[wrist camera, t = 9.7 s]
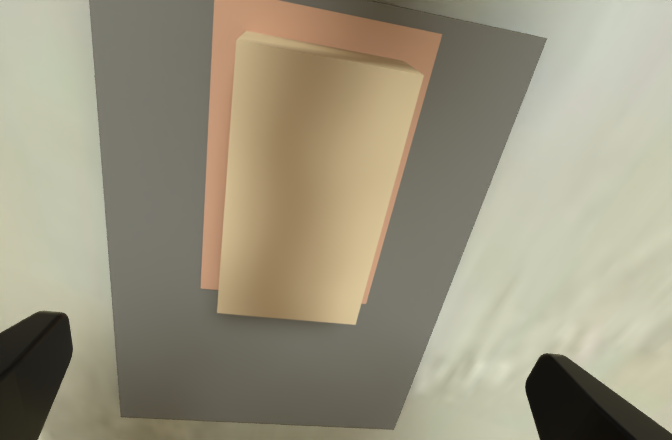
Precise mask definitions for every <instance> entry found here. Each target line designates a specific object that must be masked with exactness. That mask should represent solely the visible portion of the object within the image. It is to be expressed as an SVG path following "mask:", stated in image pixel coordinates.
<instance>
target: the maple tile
mask: <svg viewBox="0 0 672 440" xmlns="http://www.w3.org/2000/svg"><path fill="white" fill-rule="evenodd" d="M423 77H424V75H423V74H421V73H420V72H419V71H417V70H416V69H414V68H413V67H412V66H410V65H409V64H407V63H406V62H405V61H402V60H397V59H392V58H386V57H381V56H376V55H371V54H366V53H360V52H355V51H350V50H345V49H340V48H334V47H329V46H324V45H319V44H314V43H308V42H303V41H298V40H293V39H287V38H282V37H277V36H272V35H267V34H261V33H256V32H251V31H246V32H244V33H243V34H242V35H241V36H240V37H239V38H238V39H237V40H236V52H235V66H234V80H233V94H232V108H231V122H230V136H229V150H228V164H227V178H226V193H225V207H224V221H223V235H222V249H221V263H220V277H219V291H218V305H217V313H223V314H235V315H246V316H258V317H270V318H281V319H293V320H305V321H317V322H328V323H340V324H352V325H356V321H357V318H358V314H359V310H360V307H361V303H362V299H363V296H364V292H365V289H366V285H367V281H368V278H369V274H370V270H371V267H372V263H373V259H374V256H375V252H376V248H377V245H378V241H379V237H380V234H381V230H382V227H383V223H384V219H385V216H386V212H387V208H388V205H389V201H390V197H391V194H392V190H393V186H394V183H395V179H396V176H397V172H398V168H399V165H400V161H401V157H402V154H403V150H404V146H405V143H406V139H407V135H408V132H409V128H410V124H411V121H412V117H413V114H414V110H415V106H416V103H417V99H418V95H419V92H420V88H421V84H422V81H423Z"/></svg>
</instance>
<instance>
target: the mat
mask: <svg viewBox="0 0 672 440" xmlns="http://www.w3.org/2000/svg"><path fill="white" fill-rule="evenodd" d="M89 4H90V17H91V30H92V43H93V57H94V70H95V83H96V96H97V109H98V122H99V135H100V149H101V162H102V175H103V188H104V201H105V214H106V227H107V241H108V254H109V267H110V280H111V293H112V306H113V319H114V333H115V346H116V359H117V372H118V385H119V398H120V411H121V417H129V418H151V419H173V420H194V421H216V422H238V423H259V424H281V425H303V426H324V427H346V428H368V429H389V430H394V428H395V425H396V423H397V420H398V418H399V415H400V413H401V410H402V408H403V405H404V402H405V400H406V397H407V395H408V392H409V390H410V387H411V385H412V382H413V379H414V377H415V374H416V372H417V369H418V367H419V364H420V362H421V359H422V357H423V354H424V351H425V349H426V346H427V344H428V341H429V339H430V336H431V334H432V331H433V328H434V326H435V323H436V321H437V318H438V316H439V313H440V311H441V308H442V305H443V303H444V300H445V298H446V295H447V293H448V290H449V288H450V285H451V282H452V280H453V277H454V275H455V272H456V270H457V267H458V265H459V262H460V260H461V257H462V254H463V252H464V249H465V247H466V244H467V242H468V239H469V237H470V234H471V231H472V229H473V226H474V224H475V221H476V219H477V216H478V214H479V211H480V208H481V206H482V203H483V201H484V198H485V196H486V193H487V191H488V188H489V185H490V183H491V180H492V178H493V175H494V173H495V170H496V168H497V165H498V163H499V160H500V157H501V155H502V152H503V150H504V147H505V145H506V142H507V140H508V137H509V134H510V132H511V129H512V127H513V124H514V122H515V119H516V117H517V114H518V111H519V109H520V106H521V104H522V101H523V99H524V96H525V94H526V91H527V88H528V86H529V83H530V81H531V78H532V76H533V73H534V71H535V68H536V66H537V63H538V60H539V58H540V55H541V53H542V50H543V48H544V45H545V43H546V40H547V38H543V37H538V36H533V35H529V34H524V33H519V32H515V31H510V30H505V29H501V28H496V27H491V26H487V25H482V24H477V23H473V22H468V21H463V20H459V19H454V18H449V17H445V16H440V15H435V14H431V13H426V12H421V11H417V10H412V9H407V8H403V7H398V6H393V5H389V4H384V3H379V2H375V1H370V0H89ZM246 31H251V32H256V33H261V34H267V35H272V36H277V37H282V38H287V39H293V40H298V41H303V42H308V43H314V44H319V45H324V46H329V47H334V48H340V49H345V50H350V51H355V52H360V53H366V54H371V55H376V56H381V57H386V58H392V59H397V60H402V61H405V62H406V63H407V64H409V65H410V66H412V67H413V68H414V69H416V70H417V71H419V72H420V73H421V74H423V75H424V77H423V81H422V84H421V88H420V92H419V95H418V99H417V103H416V106H415V110H414V114H413V117H412V121H411V124H410V128H409V132H408V135H407V139H406V143H405V146H404V150H403V154H402V157H401V161H400V165H399V168H398V172H397V176H396V179H395V183H394V186H393V190H392V194H391V197H390V201H389V205H388V208H387V212H386V216H385V219H384V223H383V227H382V230H381V234H380V237H379V241H378V245H377V248H376V252H375V256H374V259H373V263H372V267H371V270H370V274H369V278H368V281H367V285H366V289H365V292H364V296H363V299H362V303H361V307H360V310H359V314H358V318H357V321H356V325H352V324H340V323H328V322H317V321H305V320H293V319H281V318H270V317H258V316H246V315H235V314H223V313H217V305H218V291H219V277H220V263H221V249H222V235H223V221H224V207H225V193H226V178H227V164H228V150H229V136H230V122H231V108H232V94H233V80H234V66H235V52H236V40H237V39H238V38H239V37H240V36H241V35H242V34H243V33H244V32H246Z"/></svg>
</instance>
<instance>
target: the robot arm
mask: <svg viewBox="0 0 672 440" xmlns="http://www.w3.org/2000/svg"><path fill="white" fill-rule="evenodd" d="M72 352H73V346H72V338H71V331H70V324H69V319H68V316H67V315H66V314H65V313H62V312H50V311H39V312H37V313H34V314H33V315H31V316H29V317H27V318H26V319H24V320H22V321H20V322H19V323H17V324H15V325H13V326H12V327H10V328H8V329H6V330H5V331H3V332H1V333H0V440H38V438H39V435H40V433H41V431H42V428H43V426H44V423H45V421H46V419H47V416H48V414H49V411H50V409H51V406H52V404H53V402H54V399H55V397H56V394H57V392H58V390H59V387H60V385H61V382H62V380H63V378H64V375H65V373H66V370H67V368H68V366H69V363H70V360H71V357H72ZM525 389H526V394H527V398H528V401H529V404H530V408H531V411H532V414H533V418H534V421H535V424H536V428H537V431H538V434H539V438H540V440H672V434H671V433H670V432H669V431H667V430H666V429H665V428H663V427H662V426H660V425H659V424H658V423H656V422H655V421H654V420H652V419H651V418H649V417H648V416H647V415H645V414H644V413H643V412H641V411H640V410H638V409H637V408H636V407H634V406H633V405H632V404H630V403H629V402H628V401H626V400H625V399H623V398H622V397H621V396H619V395H618V394H617V393H615V392H614V391H612V390H611V389H610V388H608V387H607V386H606V385H604V384H603V383H602V382H600V381H599V380H597V379H596V378H595V377H593V376H592V375H591V374H589V373H588V372H586V371H585V370H584V369H582V368H581V367H580V366H578V365H577V364H576V363H574V362H573V361H571V360H570V359H569V358H567V357H566V356H564V355H560V354H548V353H546V354H543V355H541V356H540V357H539V359H538V360H537V362H536V364H535V366H534V367H533V369H532V371H531V373H530V374H529V376H528V378H527V380H526V385H525Z"/></svg>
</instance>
